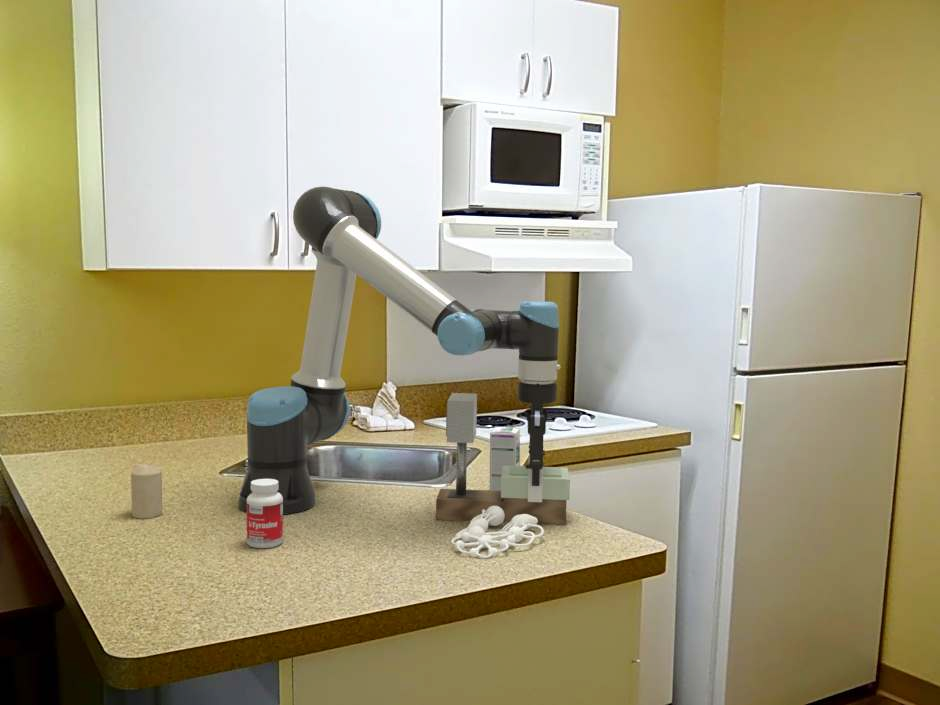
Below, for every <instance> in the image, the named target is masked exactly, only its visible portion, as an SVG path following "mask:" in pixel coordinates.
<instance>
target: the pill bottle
mask: <svg viewBox="0 0 940 705" xmlns="http://www.w3.org/2000/svg"><path fill="white" fill-rule="evenodd" d="M278 488H279V485H278V481H277V480H275V479H257V480H254V481H252V482H251V491H252V493H251V494H250V495H249V496H248V497H247V512H246V545H247V546H249V547H250V548H254V549H271V548H275V547H278V546H280V545H281V544H282V543H283V541H284V540H283V539H284V538H283V537H284V536H283V535H284V534H283V533H284V514H283V497H282V495H281V494H280V493H278V492H277V490H278Z"/></svg>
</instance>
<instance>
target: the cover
mask: <svg viewBox="0 0 940 705" xmlns="http://www.w3.org/2000/svg"><path fill="white" fill-rule="evenodd" d="M568 469H569V468H568V467H560V466H559V467H558V466H555V467H554V466H543V488H542V499H552V500H566V501H570V491H571V490H570V487H571V485H570V484H571V478H570V472H569V470H568ZM528 475H529V469H526V465H520V466H503V468H502V476H501V498H524V499H528Z"/></svg>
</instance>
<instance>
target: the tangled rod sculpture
mask: <svg viewBox="0 0 940 705" xmlns="http://www.w3.org/2000/svg"><path fill="white" fill-rule="evenodd" d="M483 517H485V518H483ZM504 518H505V514H504V511H503V510H502V509H501V508H500V507H498V506H491V507H489V508H488V509H487V510H486V512H485V510H484V509H483V510H482V514H480V515H478V516H476V517H474V518H473V519H472V520H471V521H469V522H470V523H469V524H468V525H467V527H466V528H463V529H461V530H460V531H458V532H456V533H455V534H454V536H455V537H453V538H452V539H451V541H450V542H451V544H452V545H453V546H454V547H455V549H456V550H458V551H459V552H460V553H463V554H466V555H469V556H470V557H471V558H478V557H479V558H482V559H489V558H491V557H497V556H498V553H499V554H500V553H502V552H505V551H507V550H508V549H509V546H512V547H528V546H531V544H532V543H533V541H534V540H535V539H538V538H541V537H542V536H543V535H544V534H545V530H544V528H543V527H542V526H541V525H540V524H538V520H537V518H536V517H533V516H531V515H528V514H520V515H516V516H514V517H513V518H512V520H511V522H507V523H506V524H505V525H504V526H503V528H501V530H498V531H492V532H487V530H488V529H489V526H493V527H497V526H500V525H502V523H504V522H503V521H504ZM530 528H538V529H539V530H540V531H541V532H540V533H539V534H537V535H536V534H535V533H534V532H533V531H529V530H528V529H530ZM526 530H528V531H526ZM523 538H524V539H528V540H529V539H530V540H529V541H528V542H527V543H520V542H521V541H522V540H523ZM497 539H500V540H497ZM491 545H499V546H500V548H501V549H497V548H496V547H492V546H491ZM475 546H477V547H475ZM465 547H473V548H471V549H469V551H467V550H464V548H465ZM486 548H487V549H488V550H487V551H488V552H487V555H484V554H480V550H481V549H486Z"/></svg>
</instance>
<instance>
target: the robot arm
mask: <svg viewBox="0 0 940 705" xmlns="http://www.w3.org/2000/svg"><path fill="white" fill-rule="evenodd" d="M293 208H294V209H293V210H292V212H293V214H292V220H293V225H294V228H295V230H296V232H297V234H298V235H299V237H301V239H302V240H303V241H304V242H306V243H307V244H308V245H310V247H311V249H310V251H311V253H312V254H313V255H314V256H315V258H316V267H315V272H314V278H313V279H314V280H313V285H312V293H311V299H310V305H309V311H308V318H307V324H306V329H305V330H306V331H305V334H304V335H305V336H304V337H305V338H304V342H303V343H304V344H303V349H302V355H301V362H300V369H299V370H298V371H296V372H295V373H294V374H292V375H291V378H290V385H283V386H282V385H279V386H274V387H268V388H263V389H259V390H256V392H254V393H252V394H251V395H250V396H249V398H248V399H247V407H246V408H247V410H246V415H245V417H246V421H247V422H246V423H247V424H246V434H247V435H246V436H247V441H246V442H247V447H246V448H247V470H246V473H245V476H244V479H243V482H242V485H241V488H240V491H239V494H238V506H239V507H238V508H239V509H240V510H241V511H243V512H246V513H247V497H248V496H249V495H250V494H251V493H252V491H251V482H252V481H254V480H257V479H275V480H277V481H278V485H279V488H278V490H277V492H278V493H280V494H281V495H282V497H283V515H288V514H294V513H299V512H303V511H306V510H308V509H311V508H312V507H314V506H315V504H316V491H315V488H314V485H313V482H312V478H311V476H310V473H309V468H308V467H307V466H308V465H307V456H308V455H307V453H308V452H307V449H308V448H307V446H309V445H311V444H314V443H317V442H319V441H321V442H323V441H325V440H328V439H330V438H332V437H334V436H335V435H337V434H338V433H339V432H341V431H342V430H343V429H344V428H345V426H346V425H347V423H348V421H349V419H350V418H349V417H350V414H351V404H350V400H349V399H348V397H347V393H346V392H345V391H346V384H347V383H346V382H345V381H344V379H343V378H342V377H341V373H342V365H343V359H344V353H345V348H346V341H347V336H348V329H349V325H350V324H349V322H350V317H351V312H352V304H353V300H354V299H353V298H354V293H355V286H356V280H357V276H359V277H360V278H361V279H362V280H363V281H364V282H366V283H367V284H369V285H370V286H371V287H372V288H374V289H375V290H376V291H378V292H379V293H380V294H382V295H383V296H385V298H386V299H388V300H390V301H391V302H392V303H393V304H395V305H396V306H397V307H398V308H400V309H401V310H402V311H404V312H405V313H406V314H408V315H409V316H410V317H412V318H413V319H414V320H415V321H417V322H418V323H419V324H421V325H422V326H423V327H425V328H426V330H428V331H430V332H431V333H433V335H435V336H436V337H437V340H438V342H439V345H440V347H441V348H442V349H443V350H444V351H445V352H447V353H448V354H451V355H452V356H453V355H454V356H470V355H473V354H475V353H478V352H482V351H486V350H487V351H488V350H491V349H498V350H500V349H502V350H518V362H517V363H518V365H517V367H518V368H517V371H518V372H517V378H518V379H519V380H520V381H519V382H518V383H517V384H518V385H517V399H518V401H519V402H520V403H521V402H522V403H525V404H527V403H529V409H526V421H527V434H528V435H529V445H528V449H529V450H528V454H529V455H528V463H527V464H525V466H526V469H529V475H528V502H542V488H543V467H545V465H544V456H545V455H546V450H544V435H545V434H546V427H547V425H546V424H547V420H548V410H547V409H544V404H552V403H556V401H557V400H558V384H557V383H556V382H555V381H556V380H558V371H557V370H560V369H561V366H562V365H561V364H560V363H559V364H558V359H559V358H558V352H559V350H558V349H559V332H560V330H559V329H560V323H559V322H560V321H559V306H558V304H557V303H556V302H553V301H535V300H533V301H529V300H528V301H527V300H525V301H522V302H520V304H519V308H518V310H497V309H494V310H493V309H483V308H478V309H469V308H468V307H466V306H465V304H462V303H461V302H459V301H458V300H457V299H456V298H455V297H454V296H452V295H451V294H449V293H448V292H447V291H446V290H444V289H443V288H442V287H440V286H439V285H437V284H436V283H435V282H434V281H432V280H431V279H429V278H428V276H426V275H424V274H423V273H421V272H420V271H419V270H418V269H417V268H415V267H414V266H413V265H411V264H410V263H408V262H407V261H406V260H404V259H403V258H402V257H401V256H399V255H398V254H396V253H395V252H394V251H392V250H391V249H390V248H388V247H387V246H386V245H384V244H383V243H382V242H381V241H380V240H378V238H379V235H380V233H381V229H382V216H381V214H380V213H381V212H380V211H379V210H380V209H379V208H378V207H377V205H376V204H375V203H374V201H373V200H372V199H371V198H370V197H368V196H366V195H364V194H361V193H360V192H355V191H353V190H347V189H346V190H344V189H338V188H334V187H329V186H315V187H313V188H310V189H307V191H305V192H304V193H302V194H301V196H299V198H298V199H297V201H296V203H295V205H294V206H293Z"/></svg>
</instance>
